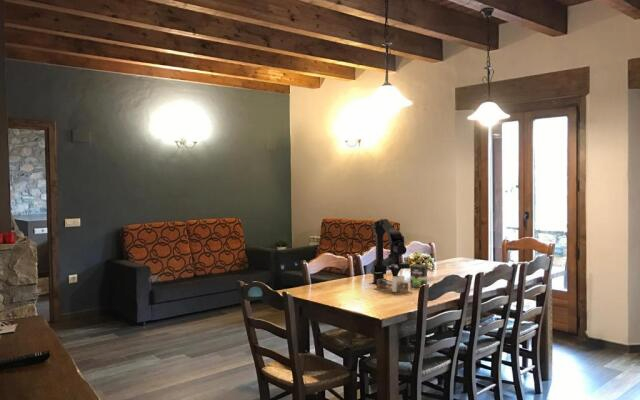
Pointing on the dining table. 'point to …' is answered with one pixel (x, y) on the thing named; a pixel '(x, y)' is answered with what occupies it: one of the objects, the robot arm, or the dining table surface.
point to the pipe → (389, 283)
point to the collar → (396, 282)
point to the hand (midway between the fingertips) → (394, 278)
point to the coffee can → (418, 276)
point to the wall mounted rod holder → (389, 290)
